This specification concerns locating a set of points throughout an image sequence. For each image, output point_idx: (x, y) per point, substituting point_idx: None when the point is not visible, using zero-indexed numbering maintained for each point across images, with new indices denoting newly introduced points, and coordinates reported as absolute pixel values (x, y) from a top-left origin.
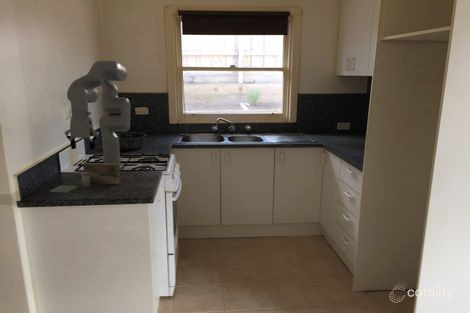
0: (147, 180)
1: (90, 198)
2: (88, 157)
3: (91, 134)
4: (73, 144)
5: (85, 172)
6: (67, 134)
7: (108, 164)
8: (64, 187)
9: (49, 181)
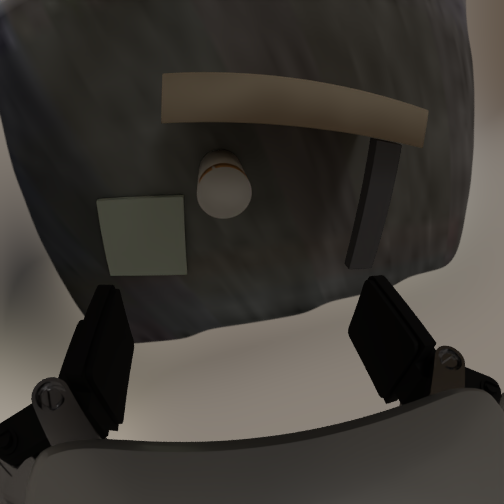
0: (451, 82)
1: (305, 303)
2: None
3: (472, 415)
4: (121, 375)
5: (219, 183)
6: (25, 490)
7: (373, 119)
8: (135, 225)
9: (9, 142)
